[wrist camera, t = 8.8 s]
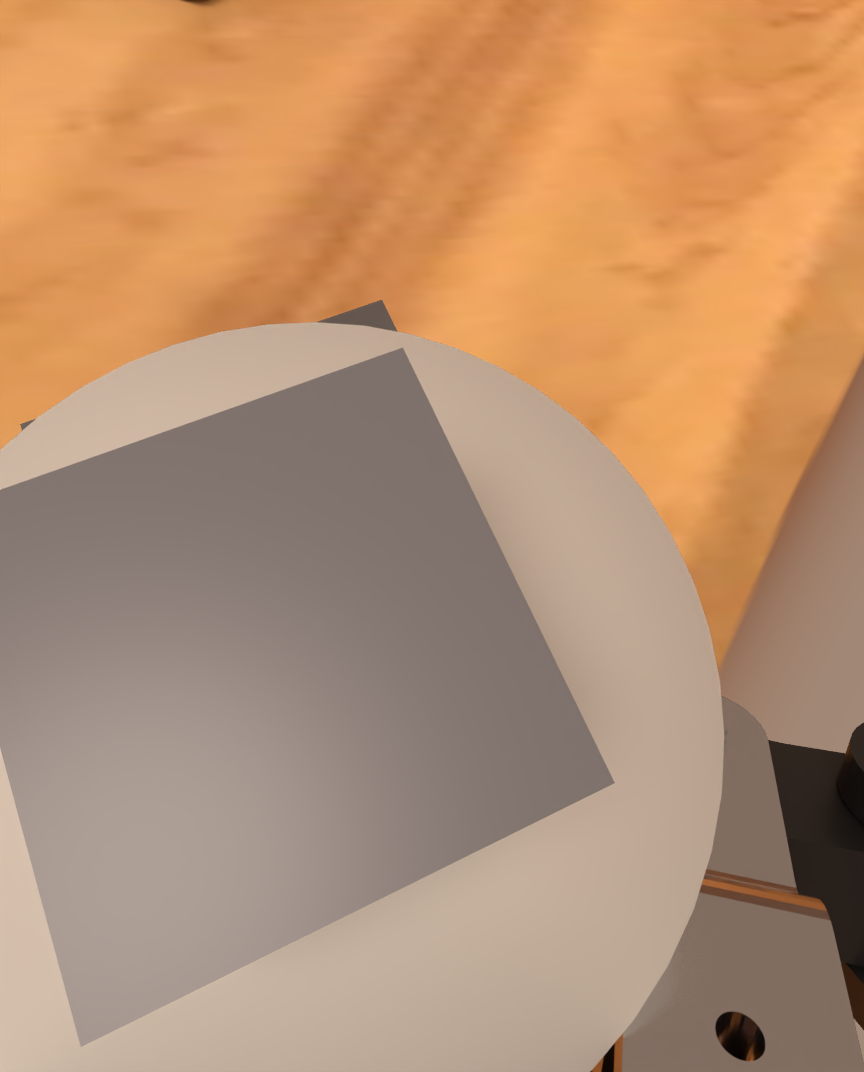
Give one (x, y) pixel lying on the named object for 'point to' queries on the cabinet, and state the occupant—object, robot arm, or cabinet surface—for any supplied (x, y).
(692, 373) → the cabinet surface
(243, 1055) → the cylinder
